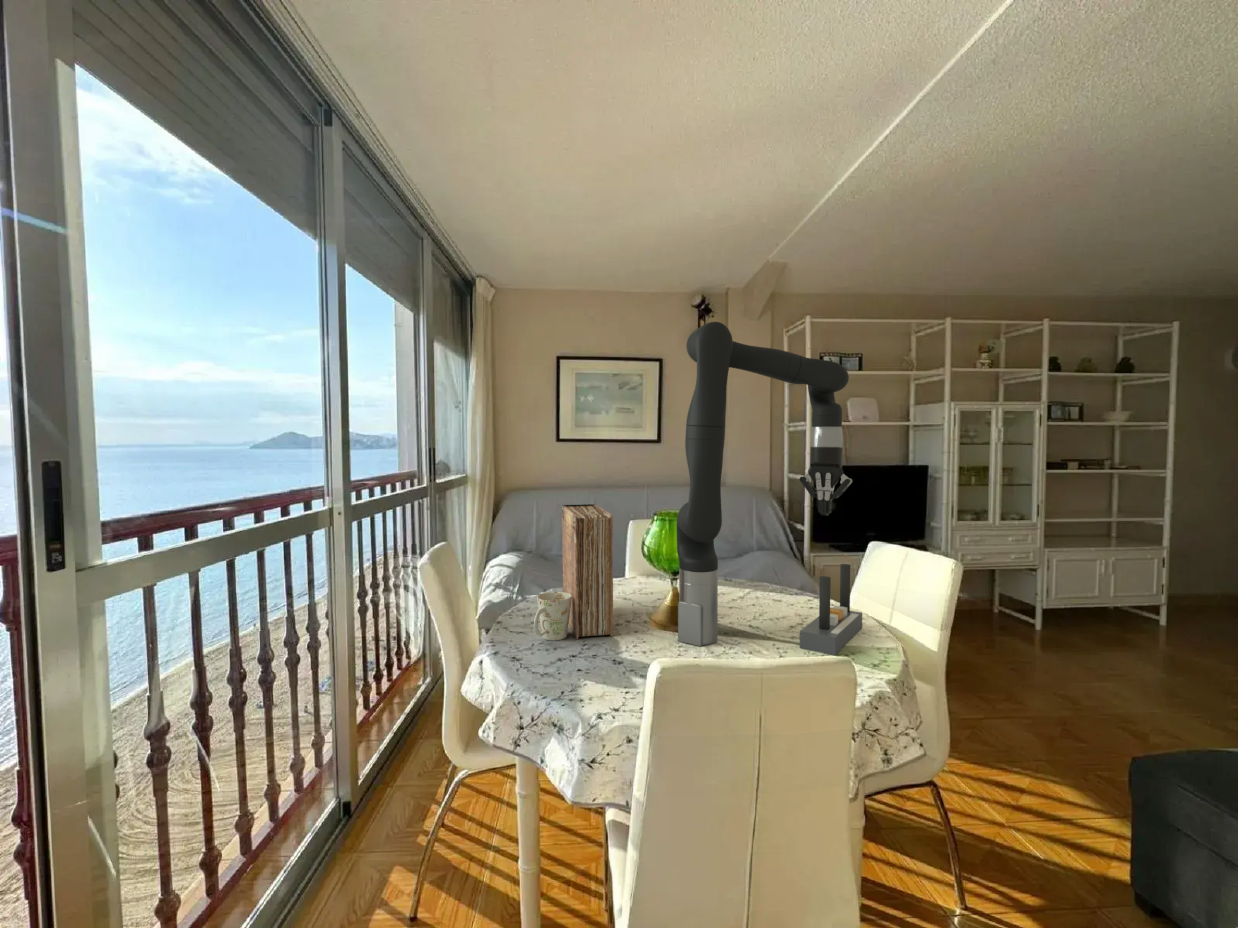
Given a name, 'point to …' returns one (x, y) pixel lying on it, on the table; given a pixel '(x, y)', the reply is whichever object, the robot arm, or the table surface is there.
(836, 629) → the switch panel
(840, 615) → the orange paddle
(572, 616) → the book
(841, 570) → the post
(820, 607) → the post
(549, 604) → the mug
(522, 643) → the table surface
